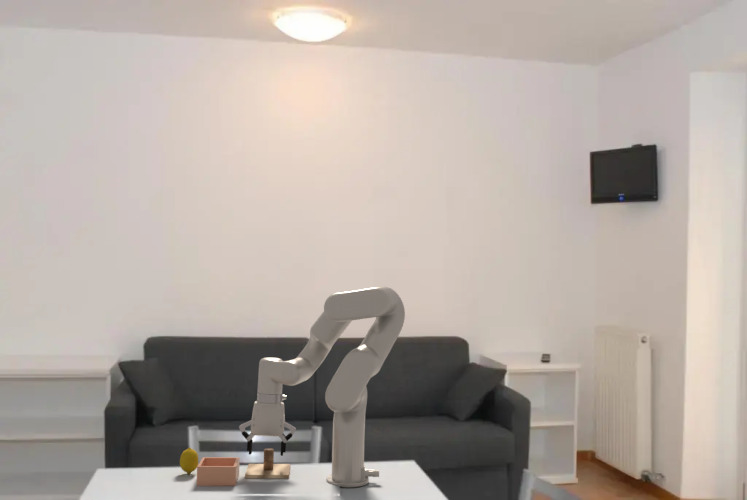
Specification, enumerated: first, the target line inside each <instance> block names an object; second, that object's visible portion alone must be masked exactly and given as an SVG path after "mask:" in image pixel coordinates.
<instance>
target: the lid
mask: <svg viewBox="0 0 747 500" xmlns="http://www.w3.org/2000/svg"><path fill="white" fill-rule="evenodd" d="M274 452H275V449H274V448H263V463H248V465H247V467H246V471H245V474H244V479H289V478H290V472H291V464H290V463H274V461H275V460H274V459H275V458H274V455H275V453H274Z"/></svg>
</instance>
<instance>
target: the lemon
mask: <svg viewBox="0 0 747 500" xmlns="http://www.w3.org/2000/svg"><path fill="white" fill-rule="evenodd" d="M179 457H180V459H179V466H180V468H181V470H182V471H183V472H185V473H186V474H187V475H190V474H191V473H192V472H195V470H197V466H198V464H199V455H198V452H197V451H196V450H194V449H193V448H192V447H188V448H187V449H185V450H183V452H182V453H181V454H180V456H179Z"/></svg>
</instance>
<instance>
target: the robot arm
mask: <svg viewBox="0 0 747 500" xmlns="http://www.w3.org/2000/svg"><path fill="white" fill-rule="evenodd" d="M405 313H406V311H405V305H404V302H403V300H402V298H401V297H400V295H399V294H398V293H397V292H396V290H395V289H393V288H391V287H388V286H376V287H369V288H363V289H357V290H351V291H343V292H342V291H341V292H335V293H333V294H331V295H329V296H328V297H327V298H326V300H325V302H324V305H323V312H322V313H321V314H320V315H319V316H318V318H317V319H316V321H315V322H314V323H313V324H312V326H311V327H310V330H309V335H310V336H309V339H308V341H307V343H306V345H305V346H304V348H303V349H302V350H301V352H300V353H298V355H297V356H296V358H293V359H289V360H283V359H282V358H279V357H263V358H261V359H260V360H259V363H258V373H257V375H258V377H257V378H258V379H257V394H256V396H257V397H256V400H255V401H254V402H253V408H252V412H251V413H252V414H251V419H250V420H248V421H246V422H244V423H242V424H240V425H239V426H238V428H239V430H240V433H241V435H242V437H244V438H245V440H246V441H247V442H246V443H247V444H246V452H248V455H252V453H253V438H254V437H255V436H260V437H278V438H279V439H280V440H281V442H280V455H279V456H280V457H281V456H284V453H286V448H287V442H288V441H289V440H290V439H291V438H292V437H293V435H294V434H295V432H296V430H297V428H296V427H295V426H293V425H292V424H291V423H288V422H287V421H286V419H285V418H286V417H285V416H286V412H285V409H286V408H285V403H284V402H283V401H284V400H285V401H286V400H287V395H285V394H283V385H284V386H290V387H291V386H293V387H294V386H296V385H300V384H302V383H303V382H306V381H307V380H309V379H310V378H311V377H312V376H313V375H314V374H315V372H316V371H317V370H318V368H320V367H321V365H322V364H323V362H324V361H325V359H326V357H328V354H330V351H331V350H332V347H333V346H334V344H335V343H337V340H338V339H339V338H340V336H341V335H342V334H343V333H344V331H346V329H347V328H348V326H349V325H350V324H351V323H352V321H356V320H357V321H358V320H363V319H365V320H366V319H373V318H375V320H374V321H373V323H372V324H371V325H370V327H369V329H368V331H367V333H366V335H365V337H364V338H363V340H362V341H361V343H360V345H359V346H357V347H355V348H354V349H351V350H350V351H349V352H348V353H347V354H346V355H345V356H344V358H343V359H342V361H341V363H340V364H339V366H338V368H337V370H336V371H335V373H334V374H333V376H332V378H331V380H330V382H329V384H328V385H327V387H326V390H325V394H324V399H325V403H326V405H327V408H328V409H330V410H331V411H332V412H333V417H332V419H333V420H332V446H331V447H332V448H331V449H332V450H331V451H332V452H331V458H332V459H331V474H328V475H327V477H326V479H325V480H326V483H328V484H331V485H333V486H338V487H340V488H358V487H362V486H366V485H368V483H369V482H370V481H369V480H370V479H369V478H371V477H372V478H380V470H379V469H378V470H375V469H374V468H371V469H370V468H369V469H368V468H367V467H366V466H365V437H366V436H365V433H366V431H365V430H366V413H367V412H366V411H367V404H368V403H367V402H368V388H367V385H368V383H369V381H370V379H371V378H373V377H374V376H376V375H377V374H378V373H379V372H380V371H381V368H382V367H383V365H384V363H385V361H386V359H387V357H388V356H389V354H390V353H391V350H392V348H393V346H394V344H395V342H396V341H397V339H398V337H399V336H400V334H401V331H402V328H403V327H404V323H405V319H406V318H405V316H406V314H405ZM248 427H250V433H248V432H247V431H246V428H248ZM285 428H286V429H288V430H289V432H288V433H287V435H286V434H285Z"/></svg>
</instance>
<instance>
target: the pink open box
mask: <svg viewBox="0 0 747 500" xmlns="http://www.w3.org/2000/svg"><path fill="white" fill-rule="evenodd" d="M240 459H241V458H240V457H237V456H236V457H235V456H234V457H228V456H227V457H226V456H224V457H223V456H222V457H220V456H219V457H217V456H216V457H215V456H214V457H213V456H211V457H210V456H203V457H201V459H200V462H198V466H197V468H196V487H201V486H202V487H236V486H237V483H238V480H239V477H240V463H241V462H240Z"/></svg>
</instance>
